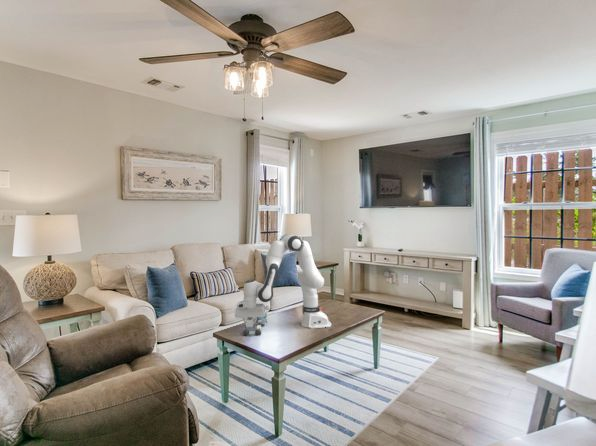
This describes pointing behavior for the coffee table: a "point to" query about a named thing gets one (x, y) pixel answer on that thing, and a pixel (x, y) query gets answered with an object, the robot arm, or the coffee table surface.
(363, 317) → the coffee table surface
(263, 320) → the toy figure
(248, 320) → the cube with round knob
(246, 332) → the chassis
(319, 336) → the coffee table surface
